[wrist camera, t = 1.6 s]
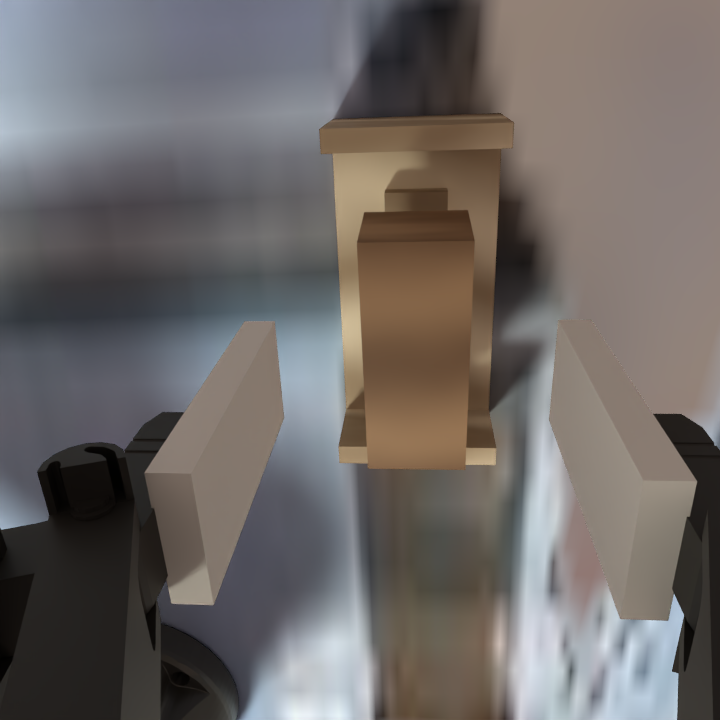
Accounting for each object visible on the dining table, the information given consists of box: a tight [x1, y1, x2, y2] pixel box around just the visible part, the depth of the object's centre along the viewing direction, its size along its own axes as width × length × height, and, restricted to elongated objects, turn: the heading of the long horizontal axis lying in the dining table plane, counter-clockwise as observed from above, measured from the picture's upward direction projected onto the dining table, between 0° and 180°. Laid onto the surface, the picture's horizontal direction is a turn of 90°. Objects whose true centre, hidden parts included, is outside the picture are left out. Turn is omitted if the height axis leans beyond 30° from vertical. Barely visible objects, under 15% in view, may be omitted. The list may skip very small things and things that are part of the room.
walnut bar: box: [357, 210, 475, 470], centre depth 30 cm, size 11×4×4 cm, turn 2°
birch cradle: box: [319, 113, 514, 465], centre depth 33 cm, size 16×8×5 cm, turn 2°
